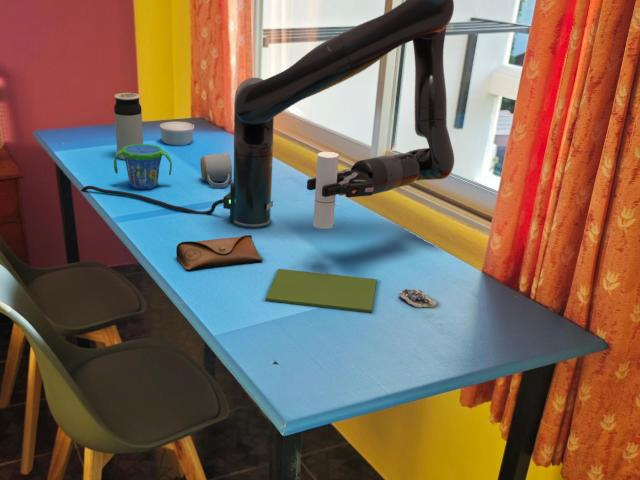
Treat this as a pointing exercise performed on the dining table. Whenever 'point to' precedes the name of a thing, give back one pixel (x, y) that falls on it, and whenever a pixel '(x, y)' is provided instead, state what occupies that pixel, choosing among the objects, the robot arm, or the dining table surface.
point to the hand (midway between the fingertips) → (315, 188)
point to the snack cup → (142, 164)
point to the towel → (323, 290)
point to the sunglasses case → (217, 252)
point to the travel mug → (128, 121)
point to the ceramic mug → (216, 169)
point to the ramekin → (177, 133)
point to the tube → (324, 176)
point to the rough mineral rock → (417, 298)
